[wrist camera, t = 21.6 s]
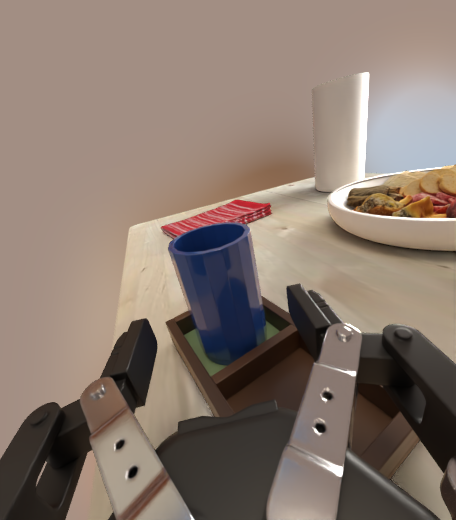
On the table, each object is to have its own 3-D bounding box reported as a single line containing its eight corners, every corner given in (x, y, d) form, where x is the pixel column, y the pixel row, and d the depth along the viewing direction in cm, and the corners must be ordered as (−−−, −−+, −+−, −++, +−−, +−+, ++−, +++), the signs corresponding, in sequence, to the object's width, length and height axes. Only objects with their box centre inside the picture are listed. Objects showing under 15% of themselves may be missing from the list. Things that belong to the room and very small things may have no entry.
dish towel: (275, 213, 57) (274, 202, 56) (187, 248, 47) (183, 235, 46) (236, 206, 71) (234, 198, 70) (161, 232, 61) (158, 223, 60)
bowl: (299, 218, 50) (296, 180, 46) (427, 186, 52) (433, 148, 49) (437, 291, 23) (454, 212, 19) (693, 218, 25) (748, 135, 22)
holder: (307, 584, 10) (303, 562, 8) (173, 341, 24) (165, 321, 23) (424, 435, 13) (432, 406, 12) (246, 302, 27) (242, 283, 26)
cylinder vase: (363, 179, 70) (368, 77, 59) (364, 189, 60) (370, 69, 49) (318, 184, 76) (315, 92, 65) (312, 194, 66) (307, 87, 55)
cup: (221, 379, 18) (185, 263, 14) (192, 336, 23) (159, 241, 19) (281, 340, 20) (266, 230, 16) (243, 308, 25) (224, 218, 21)
